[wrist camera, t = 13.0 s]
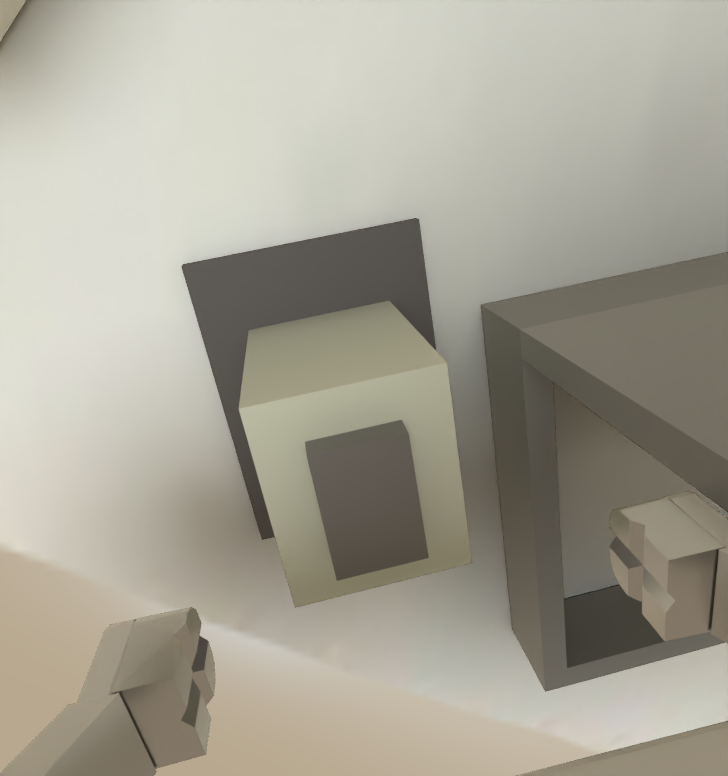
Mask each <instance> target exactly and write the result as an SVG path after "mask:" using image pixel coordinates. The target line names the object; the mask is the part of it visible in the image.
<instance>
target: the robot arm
mask: <svg viewBox="0 0 728 776" xmlns="http://www.w3.org/2000/svg"><path fill="white" fill-rule="evenodd" d="M610 529H611V530H612V531H613V532H614V533H615V535H616V538H615V539H614V541H613V542H612V544H611V545H610V562H611V565H612V569H613V572H614V575H615V577H616V579H617V581H618V583H619V584H620V586H621V587H622V589H623V590H624V591H625V593H626V594H627V595H628V596H630V597H632V598H634V599H636V600H638V601H640V602H642V614H643V615H644V617H645V618H646V619H647V620H648V621H649V623H650V624H651V625H652V626H653V628H654V629H655V630H656V631H657V633H658V634H659V635H660V636H661V638H662V639H663V640H664V641H669V640H673V639H678V638H683V637H687V636H692V635H696V634H701V633H706V632H710V631H711V634H712V635H714V636H716V637H717V638H719V639H721V640H723V641H725V642H726V643H728V519H727V518H725V517H724V516H723V515H722V514H720V513H719V512H718V511H716V510H715V509H714V508H713V507H711V506H710V505H709V504H708V503H706V502H705V501H704V500H703V499H701V498H700V497H699V496H698V495H696V494H695V493H692V492H689V491H686V492H682V493H678V494H674V495H670V496H666V497H663V498H662V499H657V500H652V501H648V502H644V503H640V504H636V505H631V506H627V507H623V508H619V509H615V510H612V512H611V515H610ZM200 629H201V621H200V618H199V616H198V613H197V611H196V609H194V608H192V607H190V608H185V609H180V610H175V611H170V612H166V613H161V614H156V615H151V616H147V617H142V618H138V619H134V620H129V621H125V622H120V623H115V624H111V625H109V626H108V627H107V628H106V629H105V631H104V633H103V636H102V638H101V641H100V643H99V646H98V649H97V651H96V654H95V656H94V659H93V662H92V665H91V667H90V669H89V672H88V675H87V677H86V680H85V683H84V685H83V688H82V691H81V693H80V696H79V698H78V701H77V703H73V704H69V705H67V706H66V708H64V710H63V711H61V713H59V714H58V715H57V716H56V717H55V718H54V719H53V721H51V722H50V723H49V724H48V725H47V727H45V728H44V729H43V730H42V731H41V732H40V733H39V734H38V736H36V737H35V739H33V740H32V741H31V742H30V743H29V744H28V745H27V746H26V747H25V748H24V750H22V751H21V752H20V753H19V754H18V755H17V756H16V757H15V758H14V759H13V760H12V761H11V763H9V764H8V765H7V766H6V767H5V768H4V769H3V770H2V771H1V772H0V776H154V775H155V773H156V768H160V767H163V766H167V765H170V764H174V763H178V762H181V761H185V760H189V759H192V758H196V757H199V756H203V755H206V751H207V745H208V744H207V743H208V737H209V730H210V722H211V717H210V715H209V712H208V709H207V707H206V705H207V704H208V703H209V701H210V700H211V699H212V697H213V696H214V690H215V663H214V659H213V654H212V650H211V647H210V644H209V642H208V641H207V640H206V639H204V638H202V637H201V636H199V634H200ZM517 776H728V721H725V722H722V723H718V724H714V725H710V726H706V727H702V728H698V729H694V730H691V731H687V732H683V733H679V734H675V735H671V736H667V737H663V738H660V739H656V740H652V741H648V742H644V743H640V744H636V745H632V746H629V747H625V748H621V749H617V750H613V751H609V752H605V753H601V754H598V755H594V756H590V757H586V758H583V759H578V760H574V761H570V762H567V763H563V764H559V765H555V766H551V767H547V768H543V769H540V770H536V771H532V772H528V773H524V774H520V775H517Z"/></svg>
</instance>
